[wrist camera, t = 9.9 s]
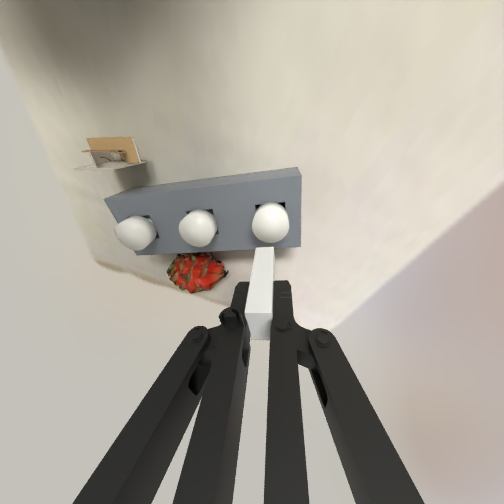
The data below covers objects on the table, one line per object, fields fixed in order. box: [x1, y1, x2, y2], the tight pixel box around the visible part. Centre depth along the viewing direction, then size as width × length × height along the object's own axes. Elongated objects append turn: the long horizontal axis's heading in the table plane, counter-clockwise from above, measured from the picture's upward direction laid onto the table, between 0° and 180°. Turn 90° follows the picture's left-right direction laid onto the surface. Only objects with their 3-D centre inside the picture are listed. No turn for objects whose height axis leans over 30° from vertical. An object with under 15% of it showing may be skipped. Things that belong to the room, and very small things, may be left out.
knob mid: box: [179, 209, 218, 247], centre depth 27 cm, size 5×5×8 cm
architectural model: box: [74, 137, 146, 170], centre depth 25 cm, size 3×7×7 cm, turn 91°
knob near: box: [252, 202, 289, 243], centre depth 25 cm, size 5×5×8 cm
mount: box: [104, 167, 301, 255], centre depth 29 cm, size 10×28×6 cm, turn 98°
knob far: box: [115, 215, 157, 250], centre depth 29 cm, size 5×5×8 cm
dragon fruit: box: [166, 252, 229, 293], centre depth 35 cm, size 8×8×12 cm
